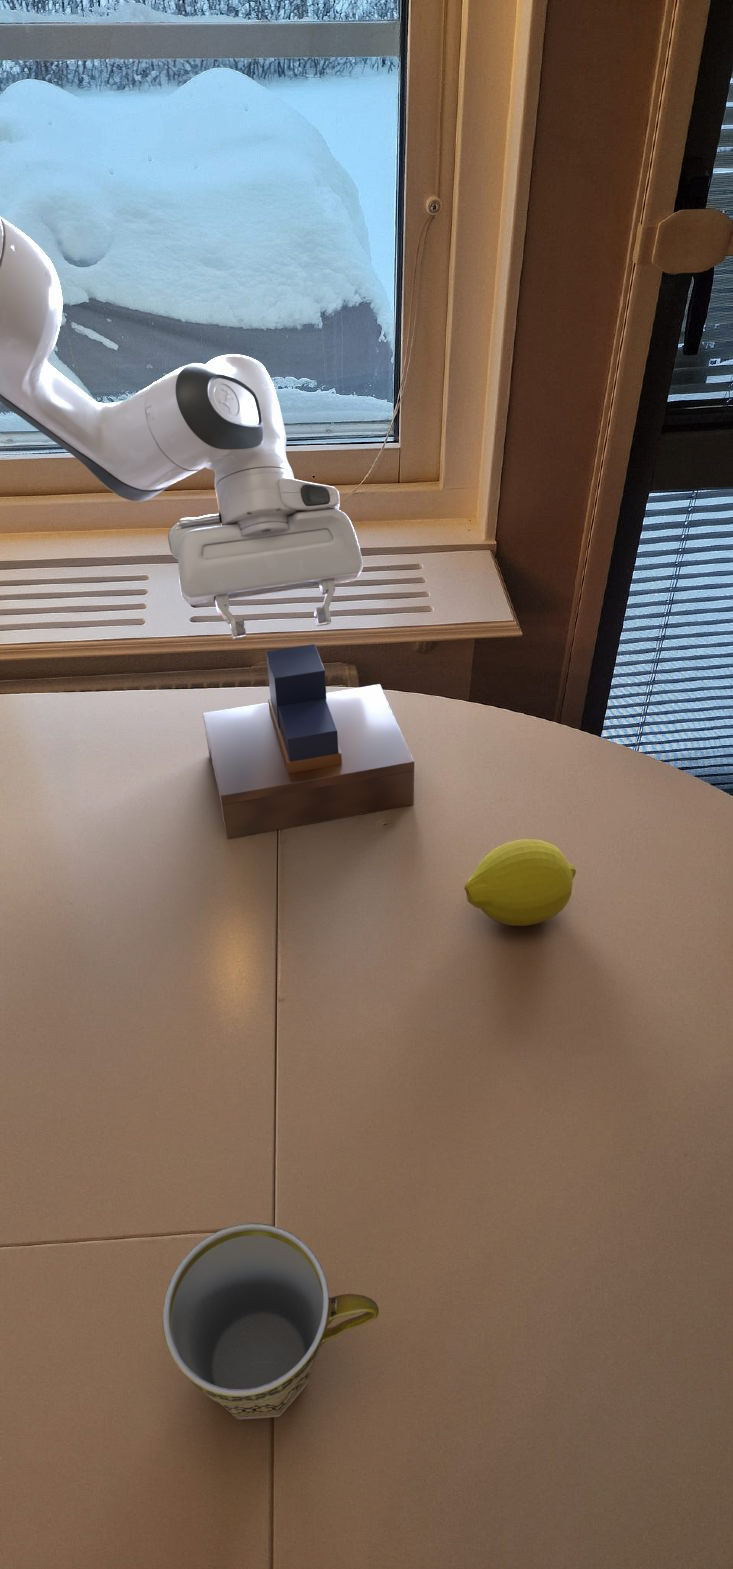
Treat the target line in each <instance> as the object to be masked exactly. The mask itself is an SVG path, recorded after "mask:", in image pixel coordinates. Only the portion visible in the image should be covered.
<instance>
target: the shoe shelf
mask: <svg viewBox="0 0 733 1569" xmlns="http://www.w3.org/2000/svg"><path fill="white" fill-rule="evenodd" d="M326 699H327V704H328V707H329V709H330V712H331V715H332V718H333V720H334V723H335V726H336V728H337V734H338V746H339V748H340V751H341V757H342V764H341V765H335V766H329V767H324V768H318V769H312V770H307V771H301V772H295V773H289V774H288V772H287V768H286V765H285V761H284V758H283V755H282V751H281V748H280V744H279V741H278V738H277V734H276V731H275V728H274V724H273V721H272V717H271V714H270V711H269V702H268V701H267V702H261V703H256V704H250V705H244V706H237V707H230V708H225V709H218V710H213V711H206V712H202V720H203V726H204V732H205V739H206V745H207V751H208V757H209V762H210V763H212V768H213V771H214V772H213V773H214V776H215V781H216V785H217V790H218V794H219V800H220V808H221V813H222V814H221V815H222V820H223V827H224V834H225V838H226V839H227V840H229V839H234V838H239V837H245V836H252V835H256V834H263V833H268V832H272V831H277V830H278V831H279V830H284V829H289V828H294V827H298V826H306V825H311V824H316V823H320V822H327V821H331V820H338V819H342V818H349V817H353V816H359V815H365V814H371V813H375V812H381V811H385V810H386V811H387V810H390V809H397V808H402V807H408V806H413V805H414V804H415V802H414V801H415V760H414V758H413V755H412V753H411V751H410V748H409V747H408V744H407V742H406V740H405V737H404V735H403V732H402V730H401V728H400V726H399V723H398V722H397V719H396V716H395V714H394V713H393V710H392V708H391V706H390V704H389V701H388V699H387V697H386V694H385V692H384V690H383V688H382V685H381V684H380V683H377V684H372V685H366V686H359V687H354V688H347V689H342V690H336V691H329V692H326Z"/></svg>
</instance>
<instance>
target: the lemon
mask: <svg viewBox="0 0 733 1569" xmlns="http://www.w3.org/2000/svg"><path fill="white" fill-rule="evenodd" d="M576 874H577V869H576V867H575V866H574V865H573V864H570V863H569V861H568V860H567V858H566V856H565V854H564V853H563V851H561V850H560V848H558V847H557V846H556V845H554V844H552V843H551V842H547V841H545V840H541V839H535V838H534V839H533V838H525V839H523V838H521V839H517V840H512V841H508V842H506V843H503V844H501V845H499V846H497V847H496V848H493V849H492V850H491V851H490V852H488V853H487V854H486V855H485V856H484V857H483V858H482V859H481V861H480V862H479V863H478V864H477V866H476V867H475V870H474V871H473V873H472V874H471V875H470V877H469V878H468V880H467V881H466V882H465V884H464V887H463V888H464V891H465V894H466V899H467V902H468V903H469V904H471V905H472V906H473V907H474V908H476V909H480V910H481V911H482V912H483V913H484V914H485V915H486V916H487V917H488V918H490V919H492V920H494V921H495V922H498V923H500V924H503V925H507V926H516V927H517V926H519V927H521V926H532V925H537V924H539V923H544V922H546V921H548V920H550V919H552V918H553V917H555V916H557V915H558V914H559V913H561V911H563V909H565V907H566V906H567V904H568V903H569V901H570V898H571V896H572V892H573V891H572V890H573V882H574V881H573V880H574V878H575V877H576Z"/></svg>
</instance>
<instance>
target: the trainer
mask: <svg viewBox="0 0 733 1569" xmlns="http://www.w3.org/2000/svg"><path fill="white" fill-rule="evenodd" d="M265 653H266V654H265V656H266V666H267V677H268V686H269V695H270V698H269V699H268V700H267V702H269V711H270V714H271V717H272V721H273V724H274V728H275V731H276V734H277V738H278V741H279V744H280V748H281V751H282V755H283V758H284V761H285V765H286V768H287V772H288V774H289V773H295V772H301V771H307V770H312V769H318V768H324V767H329V766H335V765H341V764H342V757H341V751H340V748H339V746H338V734H337V728H336V726H335V723H334V720H333V718H332V715H331V712H330V709H329V707H328V704H327V699H326V693H327V683H326V682H327V681H326V669H325V667H324V664H323V662H322V659H321V656H320V653H319V651H318V649H317V646H316V644H315V643H312V644H306V645H305V644H304V645H298V646H293V647H286V648H280V649H274V650H266V651H265Z"/></svg>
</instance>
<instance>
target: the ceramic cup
mask: <svg viewBox="0 0 733 1569" xmlns="http://www.w3.org/2000/svg"><path fill="white" fill-rule="evenodd" d="M361 1313H362V1314H361ZM379 1313H380V1309H379V1306H378V1304H377V1302H376V1301H375V1299H373V1298H371V1297H369V1296H366V1295H363V1294H356V1293H342V1294H337V1295H334V1296H331V1297H330V1296H329V1286H328V1282H327V1277H326V1275H325V1272H324V1269H323V1267H322V1265H321V1263H320V1260H318V1257H317V1256H316V1255H315V1253H314V1252H313V1251H312V1249H311V1248H310V1247H309V1246H308V1245H307V1244H306V1243H305V1242H304V1241H303V1240H302V1239H300V1238H299V1237H297V1235H295V1234H293V1233H291V1232H290V1231H288V1230H286V1229H284V1228H281V1227H278V1226H277V1225H276V1226H275V1225H271V1224H267V1223H259V1222H257V1223H255V1222H254V1223H253V1222H252V1223H251V1222H249V1223H241V1224H240V1223H239V1224H236V1225H231V1226H228V1227H225V1228H222V1229H220V1230H218V1231H216V1232H214V1233H212V1234H211V1235H209V1236H206V1237H205V1238H204V1239H203V1240H201V1241H200V1242H198V1243H197V1244H196V1245H195V1246H193V1248H191V1249H190V1251H189V1252H187V1254H185V1256H184V1258H183V1259H182V1260H181V1262H180V1263H179V1264H178V1266H177V1267H176V1269H175V1270H174V1272H173V1274H172V1276H171V1278H170V1280H169V1283H168V1286H167V1288H166V1292H165V1296H164V1300H163V1306H162V1330H163V1335H164V1341H165V1344H166V1346H167V1350H168V1352H169V1354H170V1356H171V1358H172V1360H173V1361H174V1363H175V1365H176V1366H177V1367H178V1369H179V1370H180V1372H182V1374H183V1375H184V1376H185V1377H186V1378H187V1379H188V1380H189V1381H190V1382H191V1383H192V1384H193V1385H194V1386H195V1387H196V1388H197V1389H199V1390H200V1391H201V1392H202V1393H203V1394H205V1395H206V1396H207V1397H208V1398H210V1399H211V1400H213V1401H214V1402H216V1403H218V1404H220V1405H221V1406H222V1407H223V1408H225V1410H226V1411H228V1412H229V1413H230V1414H231V1415H232V1416H233V1417H234V1418H235V1419H236V1420H250V1419H267V1418H278V1417H281V1415H283V1413H284V1412H285V1411H286V1410H287V1409H288V1408H289V1406H290V1405H292V1403H293V1402H294V1401H295V1399H296V1398H297V1397H298V1396H299V1395H300V1394H301V1392H302V1391H303V1390H304V1389H305V1387H306V1386H307V1385H308V1384H309V1382H310V1377H311V1373H312V1370H313V1368H314V1365H315V1362H316V1359H317V1357H318V1355H319V1350H320V1349H321V1347H322V1346H323V1345H324V1344H325V1343H326V1342H327V1341H329V1340H332V1339H335V1338H337V1337H339V1336H341V1335H343V1334H345V1333H347V1332H349V1331H351V1330H352V1331H353V1330H354V1329H355V1330H356V1329H357V1328H360V1327H363V1326H365V1325H369V1324H370V1323H372V1322H374V1321H375V1320H376V1319H377V1318H378V1316H379ZM355 1314H359V1315H356V1316H352V1317H350V1318H348V1319H346V1320H342V1321H341V1322H339V1323H337V1324H336V1325H334V1326H331V1327H329V1326H330V1324H331V1323H332V1322H333V1321H334V1320H336V1319H338V1318H342V1317H348V1316H351V1315H355Z"/></svg>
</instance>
